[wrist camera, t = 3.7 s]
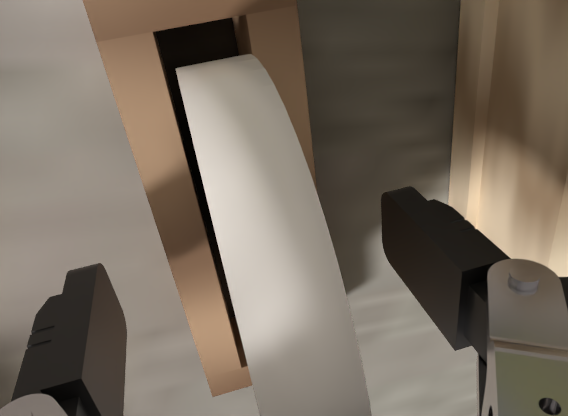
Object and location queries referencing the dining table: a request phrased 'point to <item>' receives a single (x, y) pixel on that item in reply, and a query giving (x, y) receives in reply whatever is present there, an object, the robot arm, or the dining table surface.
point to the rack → (513, 127)
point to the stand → (172, 152)
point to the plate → (273, 243)
